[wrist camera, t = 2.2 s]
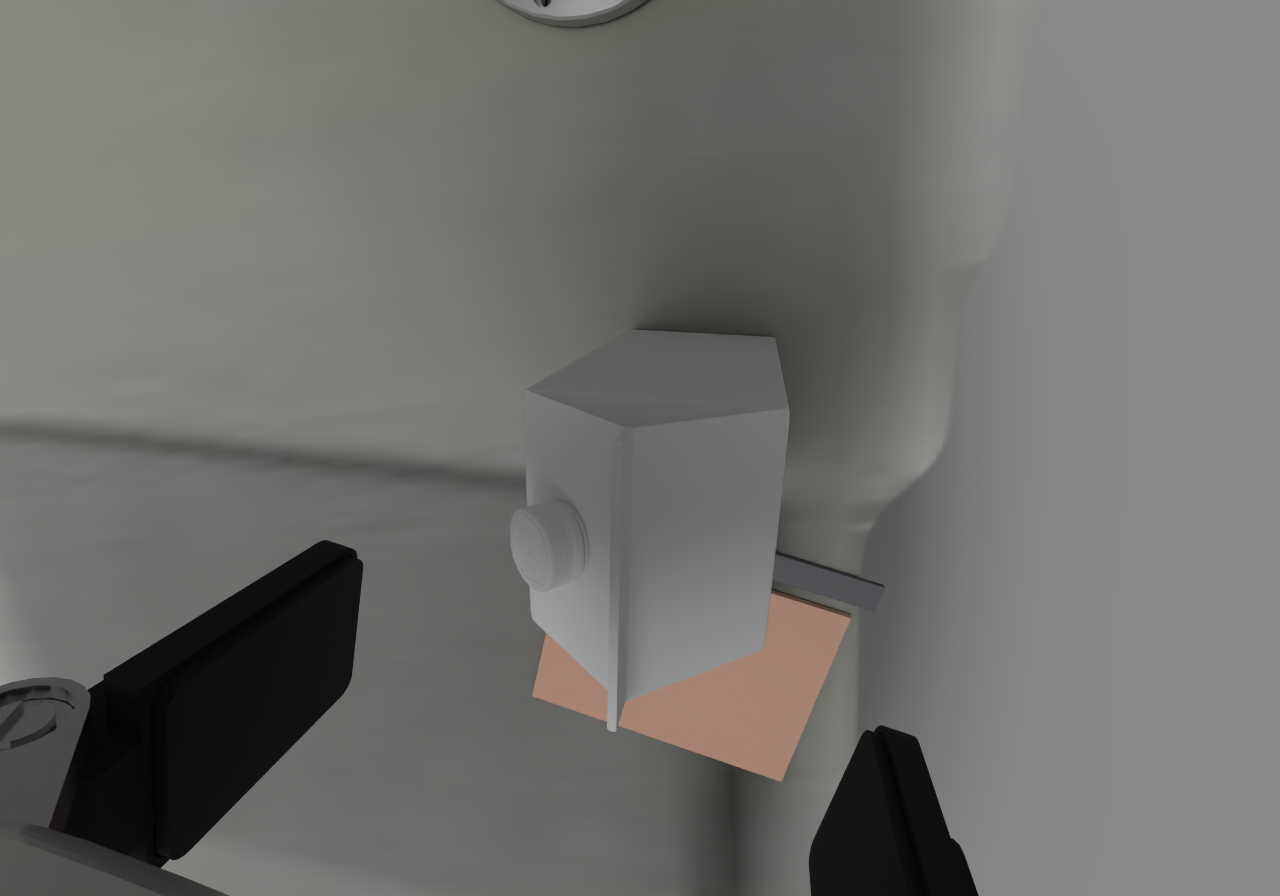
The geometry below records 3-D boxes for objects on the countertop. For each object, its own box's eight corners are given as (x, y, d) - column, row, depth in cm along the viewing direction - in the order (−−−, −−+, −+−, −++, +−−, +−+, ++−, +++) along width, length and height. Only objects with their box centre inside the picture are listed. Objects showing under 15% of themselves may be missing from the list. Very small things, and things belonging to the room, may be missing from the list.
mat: (571, 527, 34) (569, 530, 34) (849, 614, 33) (851, 618, 32) (534, 691, 38) (532, 696, 38) (781, 776, 37) (781, 781, 36)
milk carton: (776, 335, 29) (802, 458, 11) (762, 474, 31) (766, 758, 13) (632, 328, 30) (450, 427, 13) (628, 462, 32) (469, 708, 15)
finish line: (562, 486, 34) (560, 488, 33) (883, 584, 32) (884, 587, 32) (557, 510, 34) (555, 512, 34) (873, 608, 32) (874, 611, 32)
